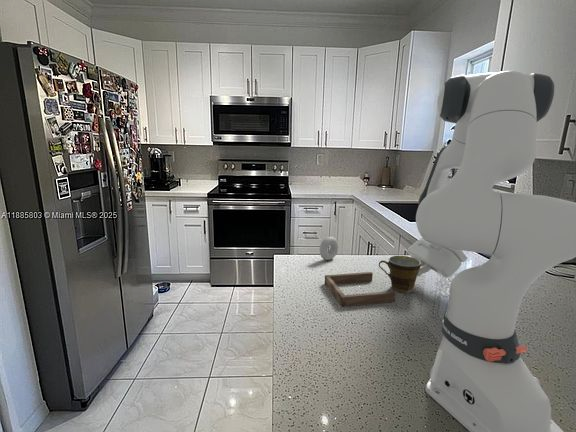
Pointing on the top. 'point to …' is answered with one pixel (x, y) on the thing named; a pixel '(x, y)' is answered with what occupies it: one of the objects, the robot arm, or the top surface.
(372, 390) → the top surface
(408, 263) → the ceramic cup
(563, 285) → the top surface
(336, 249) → the donut
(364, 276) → the wooden u-shaped frame
